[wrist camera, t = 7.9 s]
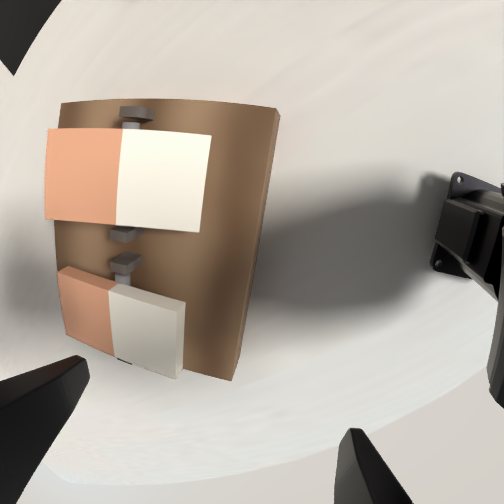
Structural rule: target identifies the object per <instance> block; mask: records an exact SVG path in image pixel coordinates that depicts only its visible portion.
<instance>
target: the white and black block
mask: <svg viewBox="0 0 504 504" xmlns="http://www.w3.org/2000/svg"><path fill="white" fill-rule="evenodd" d="M60 1H61V0H0V60H1V61H2V62H3V64H4V65H5V66H6V67H7V68H8V70H9V71H10V72H11V73H12V75H13V76H14V74H15V72H16V71H17V69H18V67H19V65H20V63H21V61H22V59H23V58H24V56H25V54H26V52H27V51H28V49H29V47H30V46H31V44H32V42H33V41H34V39H35V37H36V36H37V34H38V33H39V31H40V30H41V28H42V27H43V25H44V24H45V22H46V21H47V19H48V18H49V16H50V15H51V13H52V12H53V11H54V9H55V8H56V7H57V5H58V4H59V3H60Z"/></svg>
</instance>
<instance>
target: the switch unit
mask: <svg viewBox="0 0 504 504" xmlns="http://www.w3.org/2000/svg"><path fill="white" fill-rule="evenodd" d="M279 120H280V115H279V113H278V111H277V109H276V108H270V107H263V106H255V105H247V104H238V103H228V102H216V101H203V100H184V99H111V100H93V101H80V102H69V103H61V109H60V117H59V125H58V129H62V128H113V129H122V124H123V122H134V123H140V129H139V130H156V131H169V132H181V133H192V134H201V135H210V136H212V137H211V143H210V150H209V157H208V164H207V172H206V179H205V187H204V195H203V204H202V212H201V221H200V230H199V232H188V231H178V230H167V229H156V228H145V227H134V226H125V227H121V226H116V225H112V224H100V223H88V222H76V221H64V220H54V227H55V246H56V260H57V270H58V271H60V270H62V269H63V268H65V267H67V266H70V267H73V268H76V269H79V270H82V271H84V272H87V273H90V274H93V275H96V276H100V277H103V278H106V279H109V280H112V281H115V273H120V274H124V275H128V274H129V273H130V280H131V287H134V288H138V289H141V290H144V291H148V292H151V293H155V294H158V295H162V296H165V297H169V298H172V299H176V300H179V301H183V302H186V305H185V323H184V344H183V369H186V370H190V371H193V372H197V373H201V374H204V375H208V376H212V377H216V378H220V379H224V380H228V381H232V378H233V375H234V372H235V369H236V366H237V363H238V360H239V356H240V351H241V345H242V339H243V333H244V328H245V322H246V316H247V310H248V304H249V299H250V293H251V287H252V281H253V275H254V269H255V264H256V258H257V252H258V246H259V240H260V234H261V228H262V222H263V216H264V210H265V204H266V198H267V192H268V186H269V180H270V174H271V168H272V162H273V156H274V150H275V144H276V138H277V132H278V126H279ZM117 359H118V360H121V361H123V362H126V363H129V362H127V361H124V360H122V359H119V358H117ZM129 364H131V365H132V363H129Z"/></svg>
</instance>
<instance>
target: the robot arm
mask: <svg viewBox="0 0 504 504" xmlns="http://www.w3.org/2000/svg"><path fill="white" fill-rule="evenodd" d="M458 177H460V178H461V181H460V183H458V182H457V178H458ZM435 239H436V243H435V247H434V250H433V253H432V257H431V260H430V266H431V267H432V268H433V269H434V270H435V271H438V272H442V273H447V274H451V275H456V276H460V277H464V278H469V279H473V280H474V281H475V282H477V283H478V284H479V285H480V286H481V287H482V288H483V289H484V290H486V291H487V292H488V293H489V294H490V295H491V296H492V297H493V298H494V299H495V300H496V301H497V302H498V308H497V316H496V322H495V328H494V334H493V340H492V345H491V350H490V355H489V359H488V364H487V373H488V379H489V383H490V388H489V391H490V393H491V395H492V396H493V398H494V399H495V401H496V402H497V403H498V404H499V405H500V406H501V407H503V408H504V183H501V188H498V187H496V186H494V185H492V184H489V183H487V182H484V181H482V180H480V179H477V178H475V177H472V176H470V175H467V174H464V173H462V172H455V173H454V174H453V175H452V177H451V182H450V187H449V192H448V196H447V200H445V201H444V205H443V209H442V213H441V217H440V221H439V225H438V229H437V232H436V236H435ZM438 260H440V263H439V264H438V265H435V263H436V261H438ZM89 379H90V374H89V369H88V365H87V361H86V359H84V358H82V357H80V356H78V355H74V356H71V357H69V358H66V359H63V360H60V361H57V362H55V363H52V364H49V365H46V366H43V367H40V368H37V369H35V370H32V371H29V372H26V373H23V374H20V375H17V376H14V377H11V378H8V379H5V380H2V381H0V504H16V502H17V501H18V499H19V497H20V496H21V494H22V492H23V491H24V488H25V487H26V485H27V483H28V482H29V480H30V479H31V477H32V475H33V473H34V472H35V470H36V469H37V467H38V465H39V464H40V462H41V461H42V459H43V457H44V456H45V454H46V453H47V451H48V449H49V448H50V446H51V445H52V443H53V442H54V440H55V438H56V437H57V435H58V434H59V432H60V431H61V429H62V428H63V426H64V425H65V423H66V422H67V420H68V419H69V417H70V416H71V414H72V412H73V411H74V409H75V407H76V405H77V403H78V401H79V399H80V397H81V395H82V393H83V391H84V389H85V388H86V386H87V384H88V382H89ZM334 504H414V503H412V500H411V499H410V497H409V496H408V495H407V493H406V492H405V490H404V489H403V487H402V486H401V484H400V483H399V482H398V480H397V479H396V477H395V476H394V475H393V473H392V472H391V470H390V469H389V468H388V466H387V465H386V463H385V462H384V460H383V459H382V457H381V456H380V454H379V453H378V451H377V450H376V449H375V447H374V446H373V444H372V443H371V441H370V440H369V438H368V437H367V435H366V434H365V432H364V431H363V430H362V429H360V428H349V429H348V431H347V432H346V434H345V436H344V437H343V439H342V440H341V442H340V445H339V451H338V460H337V469H336V478H335V486H334Z"/></svg>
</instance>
